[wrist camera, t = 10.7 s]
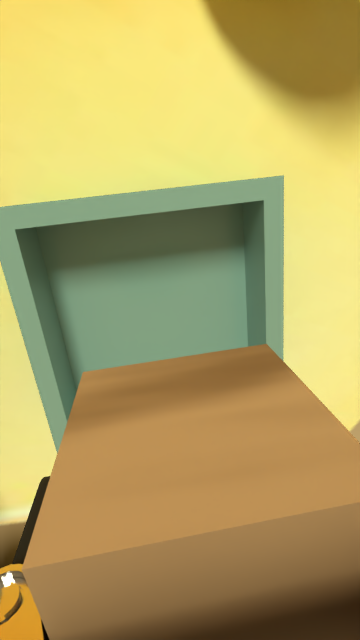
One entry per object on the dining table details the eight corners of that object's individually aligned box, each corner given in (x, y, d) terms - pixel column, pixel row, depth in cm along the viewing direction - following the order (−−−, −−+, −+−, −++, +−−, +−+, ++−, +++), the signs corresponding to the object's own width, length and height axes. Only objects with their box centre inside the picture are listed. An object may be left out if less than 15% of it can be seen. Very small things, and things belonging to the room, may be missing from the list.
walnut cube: (82, 372, 10) (21, 569, 5) (266, 343, 11) (407, 492, 5) (115, 512, 12) (99, 764, 7) (268, 482, 13) (371, 695, 7)
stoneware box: (16, 207, 22) (-16, 208, 17) (253, 180, 23) (283, 175, 19) (70, 412, 28) (57, 455, 23) (259, 381, 29) (283, 415, 25)
